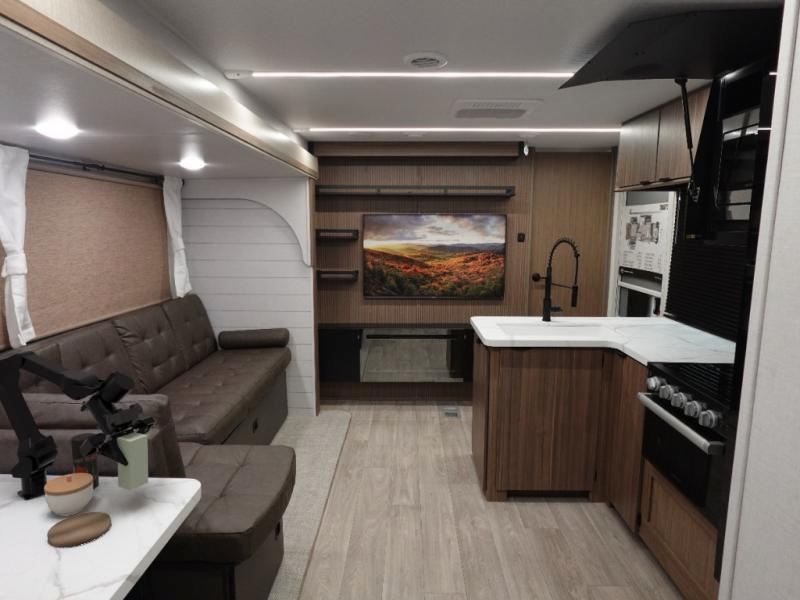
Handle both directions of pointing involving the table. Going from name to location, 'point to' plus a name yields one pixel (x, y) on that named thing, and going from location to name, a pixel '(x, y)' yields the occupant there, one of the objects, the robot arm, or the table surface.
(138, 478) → the post
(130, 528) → the table surface
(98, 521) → the disc
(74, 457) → the deodorant
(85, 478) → the lidded jar
